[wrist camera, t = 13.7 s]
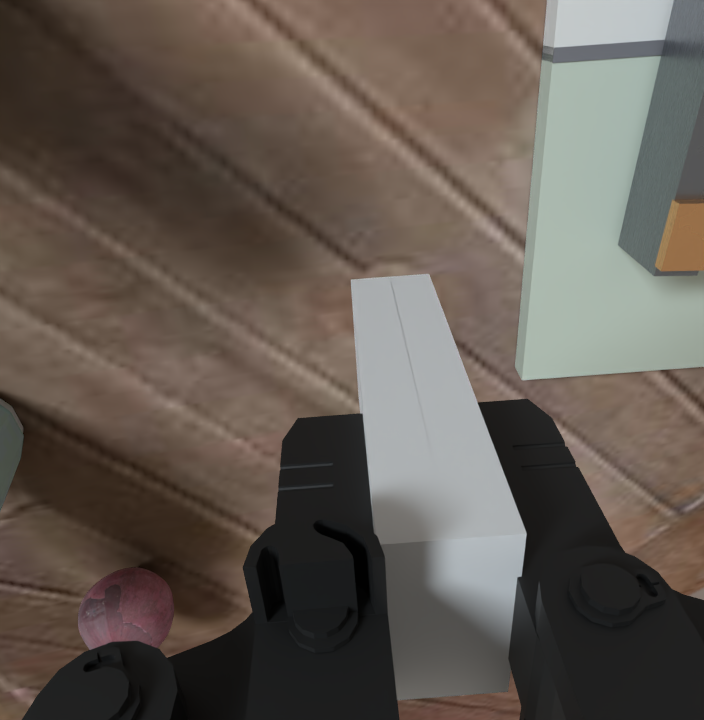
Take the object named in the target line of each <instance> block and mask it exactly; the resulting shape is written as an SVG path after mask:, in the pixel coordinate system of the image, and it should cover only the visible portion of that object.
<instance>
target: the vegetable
mask: <svg viewBox="0 0 704 720" xmlns="http://www.w3.org/2000/svg"><path fill="white" fill-rule="evenodd" d="M173 615H174V602H173V595H172V592H171V589H170V587H169V586H168V584H167V583H166V582H165V581H164V580H163V579H162V578H161V577H160V576H159V575H157V574H155V573H154V572H152V571H149V570H147V569H143V568H141V567H138V568H136V567H135V568H125V569H121V570H118V571H115V572H113V573H111V574H109V575H107V576H106V577H104V578H102V579H101V580H100V581H98V582H97V583H96V584H95V585H94V586H93V587H92V588H91V589H90V590H89V591H88V592H87V594H86V595H85V597H84V599H83V600H82V603H81V605H80V609H79V613H78V627H79V631H80V634H81V636H82V638H83V640H84V642H85V644H86V645H87V646H88V648H89V649H90V650H91V649H94V648H97V647H99V646H102V645H105V644H107V643H110V642H118V641H140V642H143V643H145V644H148V645H150V646H153V647H155V648H158V647H159V645H160V644H161V643H162V642H163V641H164V640H165V638H166V637H167V635H168V633H169V630H170V627H171V624H172V620H173Z"/></svg>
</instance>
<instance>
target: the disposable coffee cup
mask: <svg viewBox="0 0 704 720" xmlns="http://www.w3.org/2000/svg"><path fill="white" fill-rule="evenodd" d="M23 429H24V428H23V426H22V424H21V422H20V420H19V418H18V417H17V415H16V413H15V411H14V409H13V408H12V406H11V405H9V404H8V403H6V402H5V401H3V400H2V399H1V398H0V511H1V508H2V506H3V503H4V500H5V498H6V495H7V493H8V490H9V487H10V485H11V482H12V480H13V477H14V474H15V472H16V469H17V467H18V464H19V462H20V459H21V454H22V446H23V439H24V435H23Z"/></svg>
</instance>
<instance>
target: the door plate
mask: <svg viewBox="0 0 704 720" xmlns="http://www.w3.org/2000/svg"><path fill="white" fill-rule="evenodd" d="M673 2H674V0H547V8H546V19H545V30H544V42H543V53H542V65H541V76H540V87H539V99H538V110H537V122H536V133H535V144H534V156H533V167H532V179H531V190H530V201H529V213H528V224H527V236H526V247H525V259H524V270H523V281H522V293H521V304H520V316H519V327H518V338H517V350H516V361H515V368H516V370H517V372H518V374H519V376H520V378H521V379H522V380H533V379H546V378H559V377H573V376H586V375H600V374H613V373H626V372H640V371H653V370H667V369H680V368H693V367H704V270H703V271H699V272H698V275H697V276H653V275H652V274H651V273H650V272H648V271H647V270H646V269H645V268H644V267H643V266H641V265H640V264H639V263H638V262H637V261H636V260H634V259H633V258H632V257H631V256H630V255H629V254H627V253H626V252H625V251H624V250H623V249H622V248H621V247H619V246H618V241H619V237H620V233H621V228H622V224H623V220H624V215H625V211H626V207H627V202H628V198H629V193H630V189H631V185H632V180H633V176H634V172H635V167H636V163H637V159H638V154H639V150H640V146H641V141H642V137H643V133H644V128H645V124H646V119H647V115H648V111H649V106H650V102H651V98H652V93H653V89H654V85H655V80H656V76H657V72H658V67H659V63H660V59H661V54H662V50H663V45H664V41H665V37H666V32H667V28H668V24H669V19H670V15H671V11H672V6H673Z"/></svg>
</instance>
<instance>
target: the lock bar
mask: <svg viewBox="0 0 704 720" xmlns="http://www.w3.org/2000/svg"><path fill="white" fill-rule="evenodd" d="M618 246H619V247H621V248H622V249H623V250H624V251H625V252H626V253H627V254H629V255H630V256H631V257H632V258H633V259H634V260H636V261H637V262H638V263H639V264H640V265H641V266H643V267H644V268H645V269H646V270H647V271H648V272H650V273H651V274H652V275H653V276H697V275H698V272H699V271H703V270H704V0H674V2H673V6H672V11H671V15H670V19H669V24H668V28H667V32H666V37H665V41H664V45H663V50H662V54H661V59H660V63H659V67H658V72H657V76H656V80H655V85H654V89H653V93H652V98H651V102H650V106H649V111H648V115H647V119H646V124H645V128H644V133H643V137H642V141H641V146H640V150H639V154H638V159H637V163H636V167H635V172H634V176H633V180H632V185H631V189H630V193H629V198H628V202H627V207H626V211H625V215H624V220H623V224H622V228H621V233H620V237H619V241H618Z"/></svg>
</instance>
